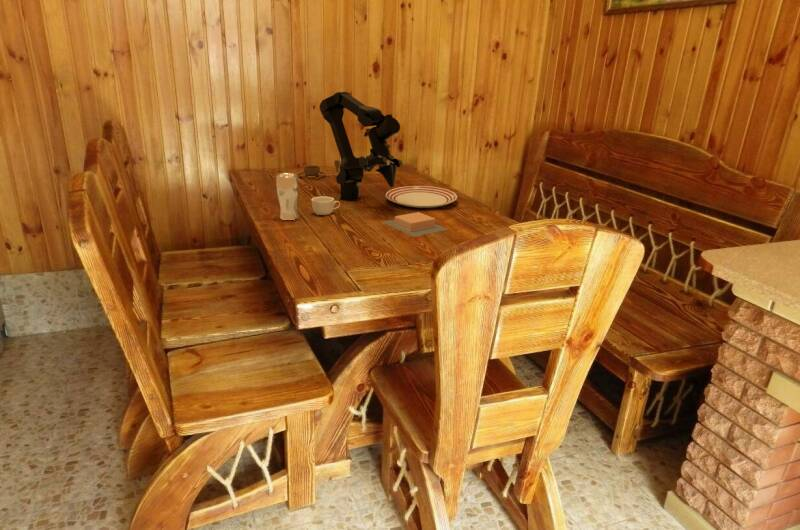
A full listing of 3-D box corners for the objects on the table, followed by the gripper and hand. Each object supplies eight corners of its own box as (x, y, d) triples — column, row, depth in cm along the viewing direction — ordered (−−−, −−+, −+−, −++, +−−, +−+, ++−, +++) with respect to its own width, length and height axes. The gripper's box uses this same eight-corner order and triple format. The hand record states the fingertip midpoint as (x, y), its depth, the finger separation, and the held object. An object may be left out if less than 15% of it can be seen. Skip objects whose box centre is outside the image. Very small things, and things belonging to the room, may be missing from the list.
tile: (394, 216, 177) (410, 223, 170) (418, 212, 182) (435, 218, 176) (394, 224, 178) (410, 231, 171) (418, 219, 183) (435, 226, 177)
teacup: (313, 217, 184) (313, 202, 182) (310, 211, 191) (309, 197, 189) (342, 216, 187) (342, 201, 185) (338, 210, 194) (337, 195, 192)
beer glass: (281, 222, 178) (279, 178, 173) (276, 217, 184) (273, 173, 179) (302, 220, 181) (299, 176, 176) (295, 214, 187) (293, 172, 182)
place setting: (296, 174, 250) (296, 161, 248) (339, 172, 255) (339, 160, 253) (301, 182, 234) (300, 169, 232) (346, 180, 239) (346, 167, 237)
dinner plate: (452, 215, 192) (453, 206, 190) (377, 209, 197) (378, 200, 195) (460, 196, 217) (460, 188, 216) (393, 191, 222) (393, 183, 220)
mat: (381, 223, 180) (381, 221, 180) (415, 216, 188) (415, 215, 188) (413, 237, 167) (414, 236, 167) (448, 230, 175) (448, 229, 174)
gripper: (370, 154, 199) (382, 194, 199) (347, 149, 182) (360, 193, 182) (396, 143, 195) (409, 184, 195) (375, 137, 178) (389, 183, 177)
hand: (392, 186), depth 187 cm, fingers closed
